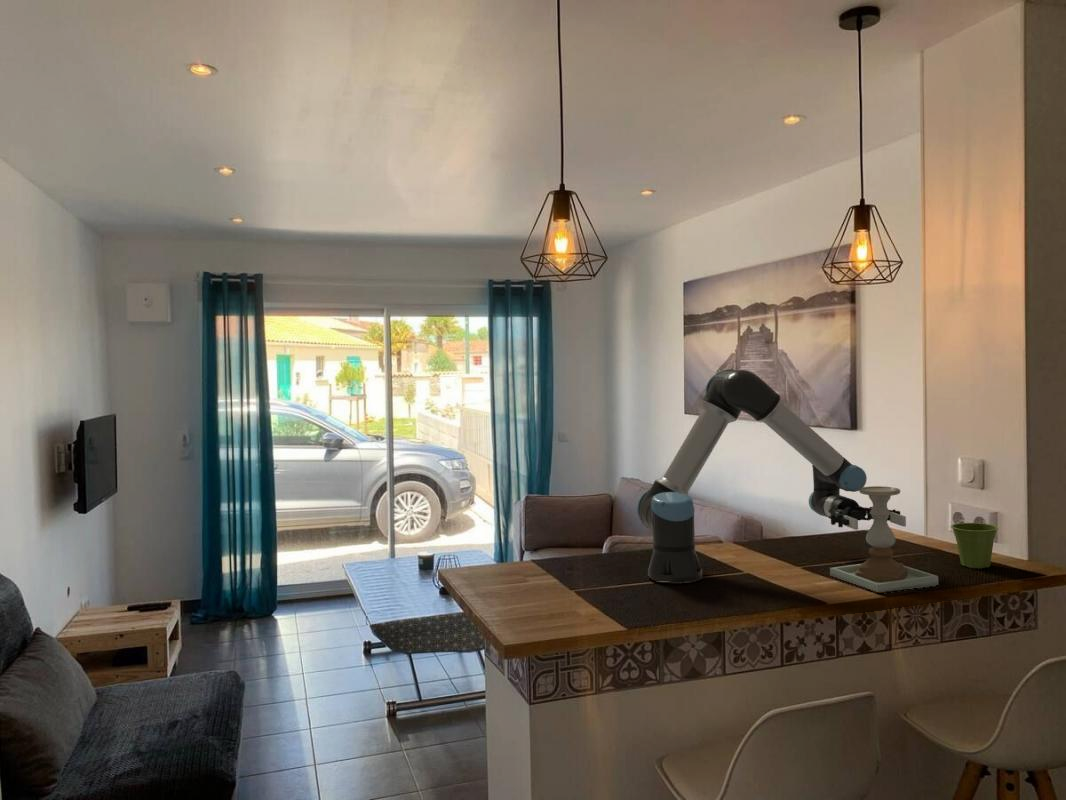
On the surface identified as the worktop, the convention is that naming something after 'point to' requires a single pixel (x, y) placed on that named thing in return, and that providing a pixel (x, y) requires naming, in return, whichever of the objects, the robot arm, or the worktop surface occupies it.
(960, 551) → the plant pot
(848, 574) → the tray
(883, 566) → the candle holder
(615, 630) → the worktop surface
